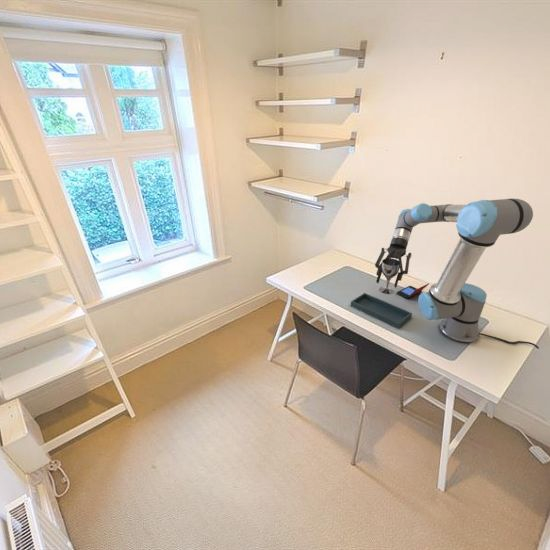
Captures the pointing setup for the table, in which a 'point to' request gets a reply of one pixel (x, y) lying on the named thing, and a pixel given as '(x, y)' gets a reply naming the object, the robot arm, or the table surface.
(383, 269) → the wine glass
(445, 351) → the table surface
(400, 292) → the handheld game console
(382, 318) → the tray
